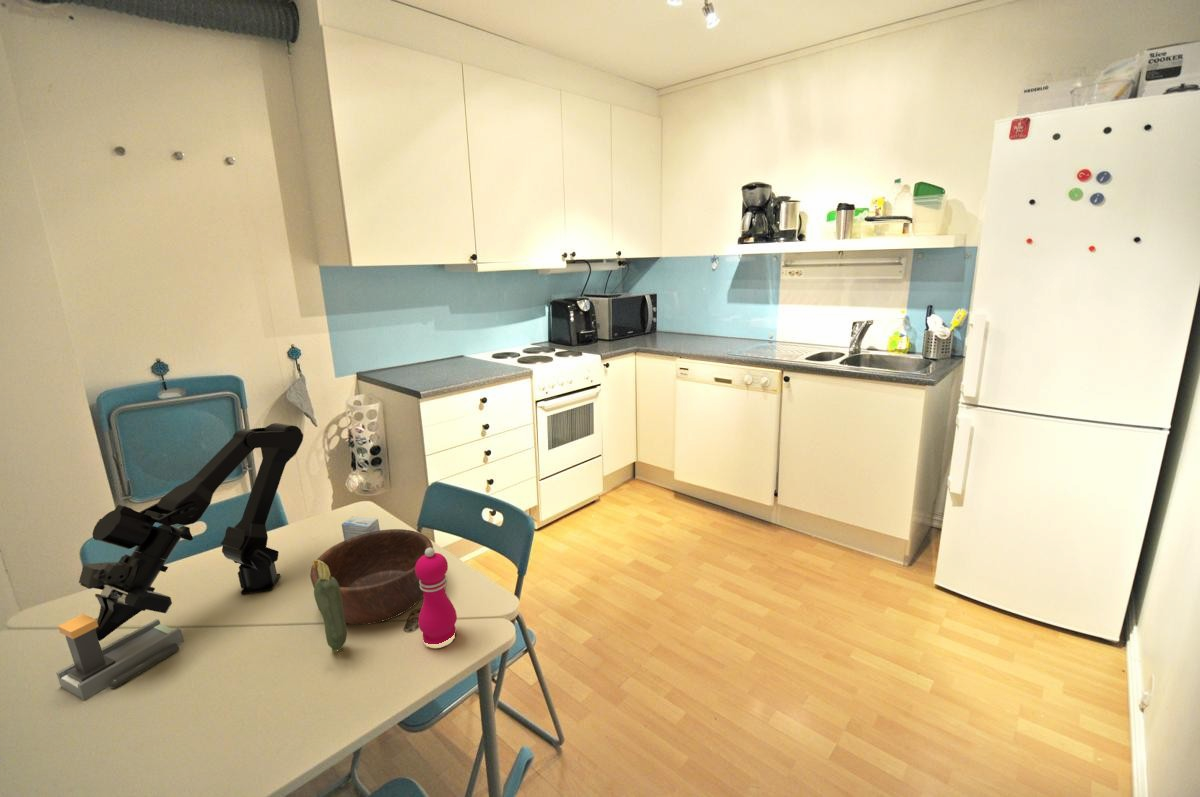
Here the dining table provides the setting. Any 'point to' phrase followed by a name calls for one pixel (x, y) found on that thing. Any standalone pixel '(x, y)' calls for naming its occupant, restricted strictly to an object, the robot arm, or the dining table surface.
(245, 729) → the dining table surface
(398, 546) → the wooden bowl
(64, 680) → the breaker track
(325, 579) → the vegetable
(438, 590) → the pepper mill
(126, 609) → the robot arm
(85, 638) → the orange-capped post
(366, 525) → the medicine box
